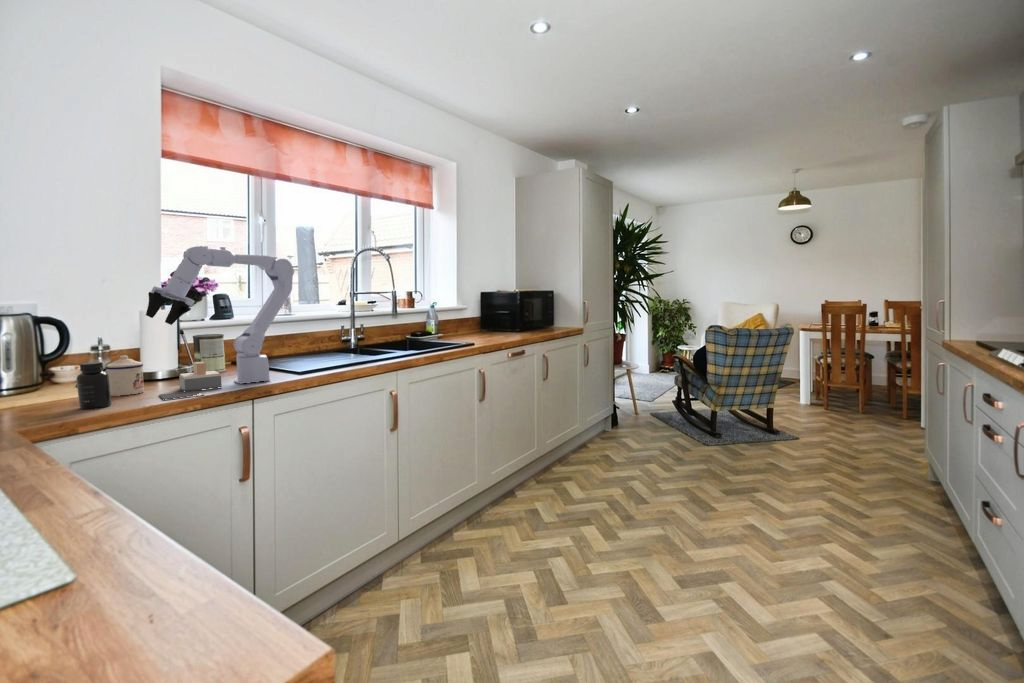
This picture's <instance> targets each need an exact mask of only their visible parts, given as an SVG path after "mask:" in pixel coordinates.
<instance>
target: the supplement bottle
mask: <svg viewBox="0 0 1024 683" xmlns="http://www.w3.org/2000/svg"><path fill="white" fill-rule="evenodd" d="M79 368H80V369H79V370H80V373H79V374H78V375H77V376H76V385H77V386H76V387H77V394H78V396H77V397H78V404H79V409H81V410H95V408H98V409H102V407H103V408H107V407H110V406H111V405H112V396H111V392H110V383H109V375H108V374H107V371H103V370H104V369H105V368H104V363H103V361H92V362H91V361H90V362H83V363H80V364H79ZM109 405H110V406H109ZM106 406H107V407H106Z"/></svg>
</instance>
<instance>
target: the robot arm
mask: <svg viewBox="0 0 1024 683" xmlns="http://www.w3.org/2000/svg"><path fill="white" fill-rule="evenodd" d="M234 264H236V265H237V264H238V265H247V266H255V267H256V266H257V267H258V268H259V269H260V270H261V271H264V272H265V274H266V275H267V277H268V278H269V279H270V280H271V283H272V286H273V288H274V289H273V290H272V292H271V293H270V294H269V296H268V298H267V299H266V300H265V302H264V304H263V305H262V307H261V309H260V310H259V312H258V313H257V315H256V316H255V318H254V319H253V320H252V322H251V323H250V325H249V326H248V327H247V328H246V329H245V330H243V332H242V333H241V335H239V336H237V337H236V338H235V339H234V340H233V349H234V351H235V352H237V353H236V354H235V356H236V372H237V375H236V376H237V379H234V380H233V382H234V381H235V383H237V384H239V383H240V384H239V385H243V384H242V383H247V384H250V383H249V382H256V383H259V382H258V381H264V382H270V381H271V379H270V365H269V358H268V356H267V355H266V354H261V353H260V352H261V351H262V348H263V343H264V341H265V339H266V338H265V337H266V335H265V334H266V332H267V330H268V329H269V327H270V326H271V324H272V322H273V321H274V320H275V318H276V316H277V315H278V313H279V311H281V308H282V307H283V305H284V304H285V303H286V300H288V297H289V296H290V294H291V292H293V291H292V290H293V277H294V274H295V270H294V267H293V264H292V262H290V260H288V259H287V258H278V257H276V256H271V255H270V256H269V255H262V254H261V255H259V254H243V253H234V252H233V251H232V250H230V249H229V248H228V249H227V247H225V246H219V248H217V247H215V248H213V247H209V246H208V245H204V246H202V245H200V246H199V245H198V246H193V247H192V246H191V247H189V248H187V249H186V250H185V251H183V258H182V260H181V262H180V263H179V264H178V266H177V267H176V269H175V271H174V272H173V274H172V275H171V277H170V279H169V281H168V283H167V284H166V286H165V287H159V286H155V285H154V286H153V287H152V289H151V290H150V291H149V292H148V293H147V294H148V304H147V310H146V313H145V316H147V317H149V318H150V319H153V318H154V317H155V316H156V315H157V313H158V311H160V309H161V308H162V307H163V306H164V305H165V304H166V303H167V302H168V301H169V299H171V300H172V303H171V307H170V310H169V311H168V314H167V316H166V318H165V321H164V323H166V324H168V325H170V326H172V325H173V324H174V323H175V322H176V321H177V320H178V319H180V318H181V317H182V316H183V315H185V314H186V313H188V312H190V311H191V310H192V308H191V307H193V305H194V304H195V302H196V301H195V300H194V299H192V298H190V297H188V296H187V294H188V293H189V291H190V289H191V287H192V286H193V284H194V282H195V280H196V279H197V277H198V275H199V274H200V271H201V270H202V268H203V266H208V267H210V266H211V267H223V268H231V267H232V266H233V265H234Z"/></svg>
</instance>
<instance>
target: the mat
mask: <svg viewBox="0 0 1024 683" xmlns="http://www.w3.org/2000/svg"><path fill="white" fill-rule="evenodd" d="M199 393H202V392H201V391H198V390H193V391H185V392H184V391H179V392H178V391H176V392H169V393H160V394H158V395H159V396H160V397H161V398H162V399H161V398H160V397H159V396H158V397H159V398H160V399H161V400H163V399H164V400H163V401H166V400H165V399H172V400H174V399H173V398H180V397H187V396H193V395H197V394H199ZM180 399H181V398H180Z"/></svg>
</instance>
